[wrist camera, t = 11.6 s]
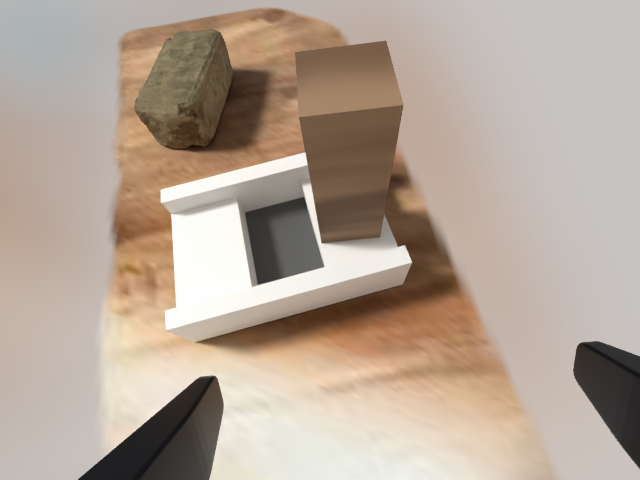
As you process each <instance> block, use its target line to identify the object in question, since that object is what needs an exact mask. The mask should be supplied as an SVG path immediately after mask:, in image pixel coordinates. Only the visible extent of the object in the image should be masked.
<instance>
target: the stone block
mask: <svg viewBox="0 0 640 480" xmlns="http://www.w3.org/2000/svg"><path fill="white" fill-rule="evenodd" d="M232 77H233V70H232V67H231V64H230V60H229V55H228V51H227V48H226V44H225V41H224V39H223V37H222V35H221V33H220V32H219V31H217V30H213V29H209V30H202V31H193V32H189V31H184V32H178V33H176V34H175V35H174V37H173V39H170V38H169V39H166V40H165V43H164V45H163V48H162V50H161V51H160V52H159V55H158V57H157V60H156V62H155V64H154V66H153V68H152V70H151V72H150V75H149V77H148V78H147V80H146V82H145V83H144V85H143V86H142V88H141V89H140V92H139V96H138V97H137V99H136V100H135V112H136V113H137V115H138V116H139V118H140V119H141V121H142V122H143V123H144V124H145V125H146V126H147V128H148V129H149V131H150V132H151V133H152V134H153V136H154V138H155V139H156V141H157V142H159V143H160V144H161V145H165V146H169V147H171V148H188V147H190V146H191V145H201V146H206V145H208V144H209V142H210V140H211V139H212V138H213V137H214V135H215V131H216V128H217V127H218V124H219V120H220V116H221V113H222V110H223V108H224V106H225V102H226V99H227V95H228V91H229V89H230V86H231V82H232Z"/></svg>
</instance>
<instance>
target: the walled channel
mask: <svg viewBox="0 0 640 480" xmlns="http://www.w3.org/2000/svg"><path fill="white" fill-rule="evenodd" d="M161 203H162V205H163V206H164V207H165V208H166V209H167V210H168V211H169V212H170V213H171V216H172V235H173V254H174V272H175V291H176V308H173V309H169V310H166V311H165V322H166V331H168V332H171V333H173V334H176V335H178V336H181V337H183V338H185V339H188V340H190V341H193V342H198V341H202V340H205V339H209V338H212V337H216V336H219V335H223V334H227V333H230V332H234V331H237V330H241V329H245V328H248V327H252V326H255V325H259V324H263V323H266V322H270V321H273V320H277V319H280V318H284V317H288V316H291V315H295V314H298V313H302V312H306V311H309V310H313V309H316V308H320V307H324V306H327V305H331V304H334V303H338V302H341V301H345V300H349V299H352V298H356V297H359V296H363V295H367V294H370V293H374V292H377V291H381V290H385V289H388V288H392V287H395V286H399V285H402V284H403V283H404V280H405V278H406V276H407V273H408V271H409V269H410V266H411V264H412V261H411V258H410V256H409V254H408V251H407V249H406V247H405V245H403V246H400V247H398V246H397V243H396V241H395V238H394V236H393V234H392V231H391V229H390V226H389V224H388V221H387V219H386V217H385V214H384V218H383V224H382V230H381V235H380V237H379V238H369V239H359V240H349V241H339V242H329V243H321V237H320V232H319V226H318V221H317V215H316V209H315V204H314V198H313V192H312V187H311V181H310V175H309V170H308V164H307V159H306V153H301V154H298V155H294V156H290V157H286V158H282V159H278V160H274V161H270V162H267V163H263V164H259V165H255V166H251V167H247V168H243V169H239V170H235V171H232V172H228V173H224V174H220V175H216V176H212V177H208V178H204V179H201V180H197V181H193V182H189V183H185V184H181V185H177V186H173V187H169V188H166V189H162V190H161Z"/></svg>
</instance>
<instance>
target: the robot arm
mask: <svg viewBox="0 0 640 480" xmlns="http://www.w3.org/2000/svg"><path fill="white" fill-rule="evenodd" d="M573 372H574V376H575V379H576V381H577V382H578V384H579V385H580V387H581V388H582V390H583V391H584V393H585V394H586V396H587V397H588V399H589V400H590V402H591V403H592V404H593V406H594V407H595V409H596V410H597V412H598V413H599V415H600V416H601V417H602V419H603V420H604V422H605V423H606V425H607V426H608V428H609V429H610V431H611V432H612V434H613V435H614V436H615V438H616V439H617V441H618V442H619V443H620V445H621V446H622V447H623V449H624V450H625V451H626V452H627V454H628V455H629V456H630V457H631V459H632V460H633V461H634V462H635V464H636V465H637V466H638V467H639V469H640V356H637V355H634V354H632V353H629V352H626V351H624V350H621V349H618V348H615V347H613V346H610V345H607V344H605V343H602V342H598V341H593V342H583V343H580V344H579V345H578V346H577V349H576V356H575V362H574V369H573ZM223 407H224V404H223V398H222V394H221V390H220V386H219V382H218V379H217V378H216V377H215V376H203V377H199V378H198V379H196V380H195V381H194V382H193V383H192V384H190V385H189V386H188V387H187V388H186V389H185V390H183V391H182V392H181V393H180V394H179V395H177V396H176V397H175V398H174V399H173V400H171V401H170V402H169V403H168V404H167V405H166V406H164V407H163V408H162V409H161V410H160V411H158V412H157V413H156V414H155V415H154V416H153V417H151V418H150V419H149V420H148V421H147V422H145V423H144V424H143V425H142V426H141V427H140V428H138V429H137V430H136V431H135V432H134V433H132V434H131V435H130V436H129V437H128V438H127V439H125V440H124V441H123V442H122V443H121V444H119V445H118V446H117V447H116V448H115V449H113V450H112V451H111V452H110V453H109V454H108V455H106V456H105V457H104V458H103V459H102V460H100V461H99V462H98V463H97V464H96V465H95V466H93V467H92V468H91V469H90V470H89V471H87V472H86V473H85V474H84V475H83V476H81V477H80V478H79V479H78V480H209V478H210V474H211V470H212V465H213V460H214V455H215V450H216V445H217V440H218V435H219V430H220V425H221V419H222V414H223Z"/></svg>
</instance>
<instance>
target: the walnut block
mask: <svg viewBox="0 0 640 480" xmlns="http://www.w3.org/2000/svg"><path fill="white" fill-rule="evenodd" d="M295 56H296V73H297V90H298V106H299V119H300V125H301V130H302V136H303V142H304V147H305V153H306V159H307V164H308V170H309V175H310V181H311V187H312V192H313V198H314V204H315V209H316V215H317V221H318V226H319V232H320V237H321V243H329V242H339V241H349V240H359V239H369V238H379V237H380V235H381V230H382V224H383V218H384V213H385V207H386V201H387V196H388V190H389V184H390V178H391V173H392V167H393V161H394V156H395V150H396V144H397V139H398V133H399V127H400V121H401V116H402V110H403V102H402V98H401V94H400V91H399V87H398V83H397V79H396V76H395V72H394V68H393V65H392V61H391V57H390V53H389V50H388V46H387V42H386V41H382V42H373V43H365V44H358V45H349V46H341V47H333V48H325V49H317V50H310V51H302V52H295Z"/></svg>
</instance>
